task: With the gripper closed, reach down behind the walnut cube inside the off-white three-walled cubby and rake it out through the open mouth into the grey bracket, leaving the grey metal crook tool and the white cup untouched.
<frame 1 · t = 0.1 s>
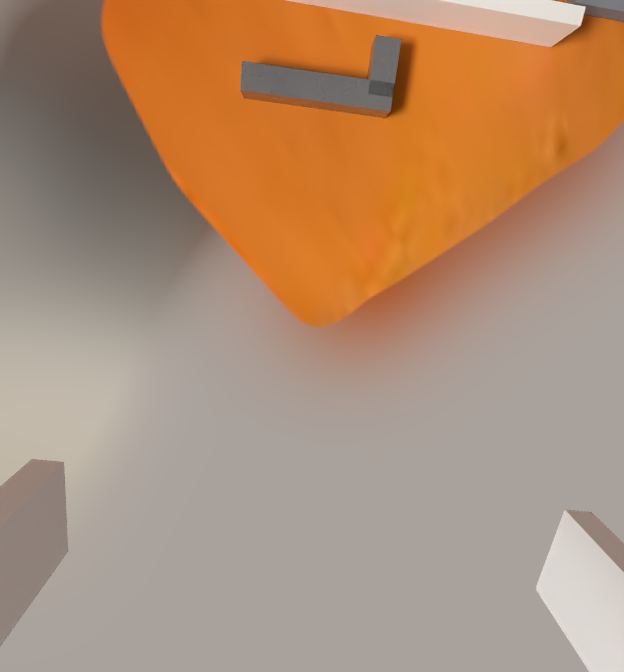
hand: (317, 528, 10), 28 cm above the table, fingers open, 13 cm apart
crook tool: (316, 95, 32), on the table
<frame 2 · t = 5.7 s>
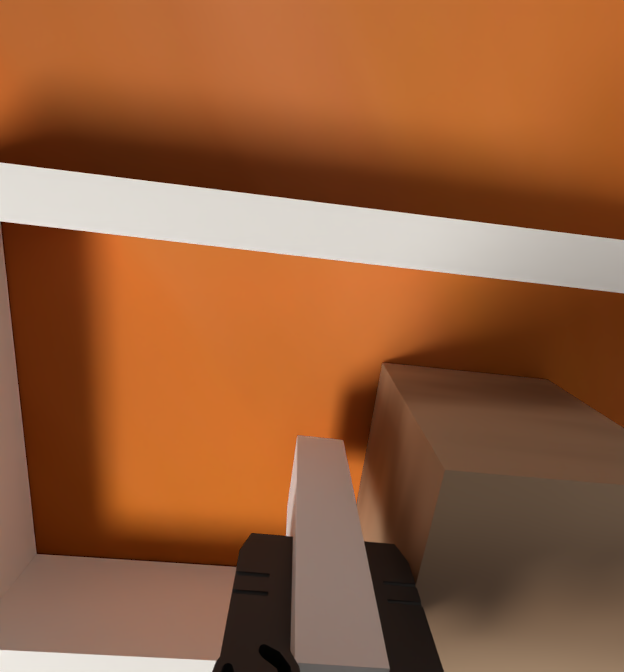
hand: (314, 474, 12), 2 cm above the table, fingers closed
cubby: (333, 433, 14), on the table
walnut cube: (447, 445, 14), on the table, touching gripper
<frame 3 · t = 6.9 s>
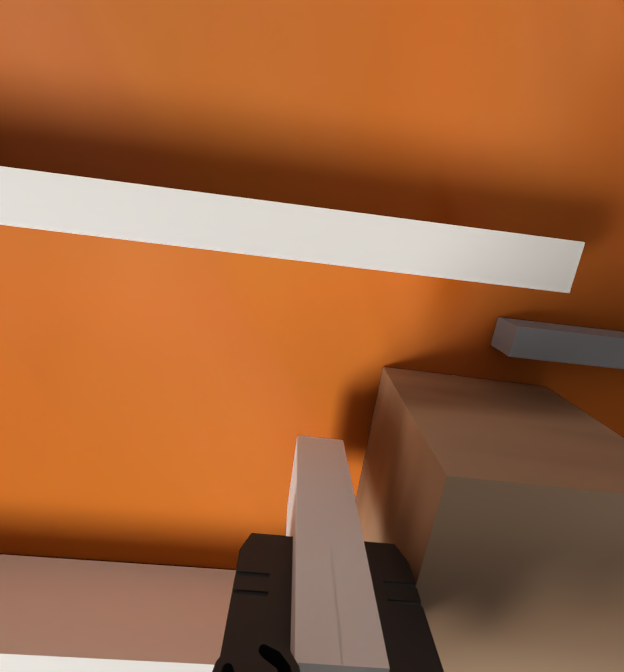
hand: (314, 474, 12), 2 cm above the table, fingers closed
cubby: (136, 418, 14), on the table
walnut cube: (446, 450, 14), on the table, touching gripper
grey bracket: (577, 459, 15), on the table
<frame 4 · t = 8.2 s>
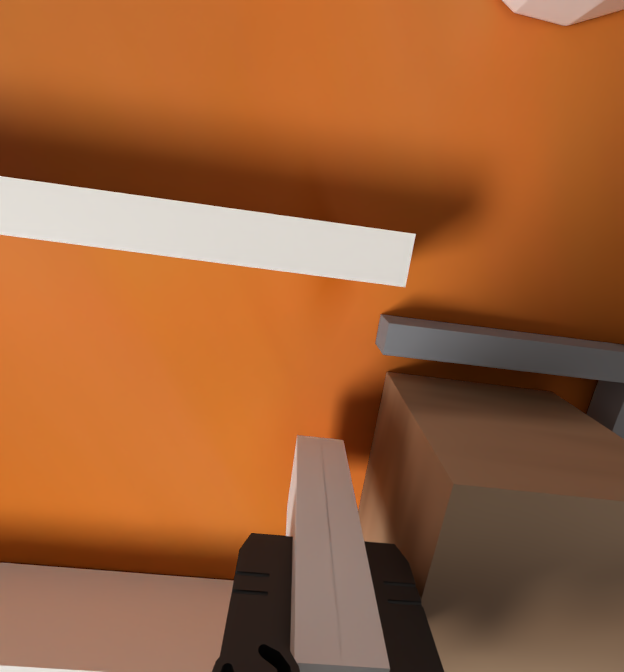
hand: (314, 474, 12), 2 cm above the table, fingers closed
cubby: (13, 415, 13), on the table
walnut cube: (450, 456, 14), on the table, touching gripper
grey bracket: (474, 461, 14), on the table
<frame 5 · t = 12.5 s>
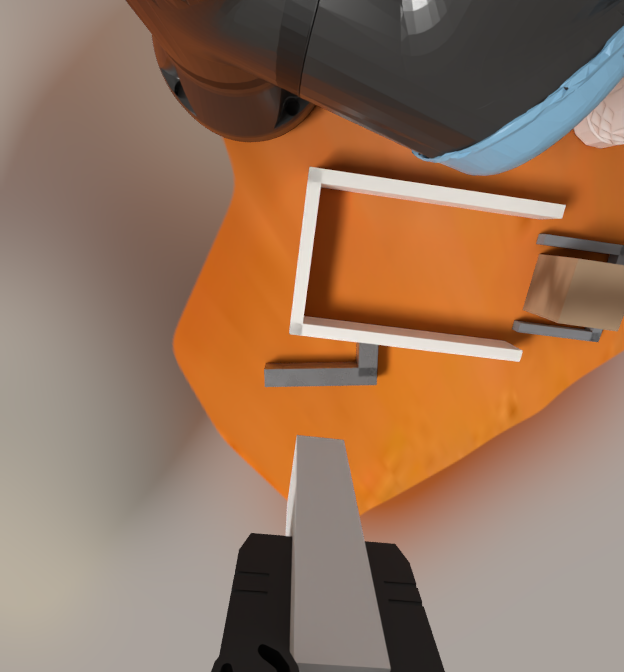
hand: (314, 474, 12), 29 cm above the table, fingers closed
white cup: (603, 110, 37), on the table
cubby: (415, 268, 40), on the table
crook tool: (320, 370, 43), on the table, touching cubby
walnut cube: (556, 286, 41), on the table
grey bracket: (565, 288, 41), on the table
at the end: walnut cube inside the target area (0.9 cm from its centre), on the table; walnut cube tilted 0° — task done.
